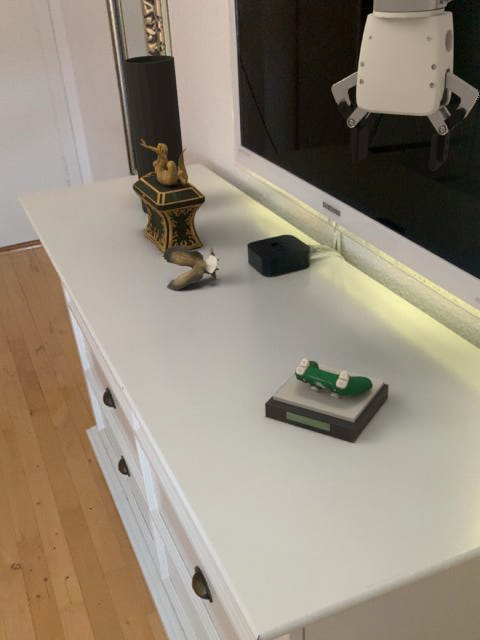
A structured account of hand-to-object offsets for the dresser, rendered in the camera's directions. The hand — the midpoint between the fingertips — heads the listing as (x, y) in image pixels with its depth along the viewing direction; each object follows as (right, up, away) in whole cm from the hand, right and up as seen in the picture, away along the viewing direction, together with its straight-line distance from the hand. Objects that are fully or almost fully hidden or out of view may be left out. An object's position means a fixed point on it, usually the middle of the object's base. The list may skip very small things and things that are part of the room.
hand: (396, 163), depth 85 cm
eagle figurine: (-27, -7, +39) cm, 48 cm away
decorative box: (-32, +4, +55) cm, 64 cm away
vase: (-36, +17, +73) cm, 83 cm away
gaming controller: (-8, -28, +3) cm, 29 cm away
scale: (-8, -29, +5) cm, 31 cm away
